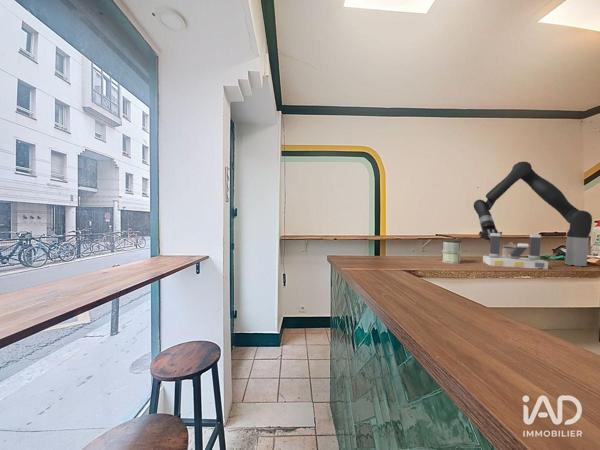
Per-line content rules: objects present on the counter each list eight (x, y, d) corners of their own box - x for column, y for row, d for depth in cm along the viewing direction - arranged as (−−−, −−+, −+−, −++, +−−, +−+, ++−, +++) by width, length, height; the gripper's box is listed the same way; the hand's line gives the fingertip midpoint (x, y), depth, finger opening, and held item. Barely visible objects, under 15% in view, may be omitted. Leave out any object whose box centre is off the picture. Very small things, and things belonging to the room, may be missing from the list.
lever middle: (517, 255, 162) (528, 243, 150) (518, 259, 161) (529, 246, 149) (507, 255, 163) (517, 242, 152) (508, 258, 162) (519, 246, 150)
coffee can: (438, 260, 176) (439, 238, 175) (455, 260, 175) (456, 239, 174) (445, 263, 165) (446, 240, 164) (463, 263, 164) (464, 241, 163)
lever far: (498, 257, 164) (499, 233, 164) (499, 257, 162) (501, 233, 161) (488, 256, 166) (490, 233, 165) (490, 257, 164) (491, 233, 163)
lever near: (537, 259, 159) (539, 234, 158) (540, 260, 156) (541, 234, 155) (528, 258, 160) (529, 234, 159) (530, 259, 158) (531, 234, 157)
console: (536, 264, 163) (536, 258, 163) (548, 269, 151) (548, 262, 151) (482, 261, 171) (483, 255, 171) (490, 265, 159) (490, 259, 159)
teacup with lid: (518, 261, 173) (519, 243, 173) (501, 259, 179) (502, 242, 178) (518, 258, 183) (519, 241, 182) (502, 257, 188) (503, 240, 188)
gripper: (477, 219, 176) (482, 240, 165) (500, 220, 172) (508, 241, 161) (474, 227, 181) (479, 247, 170) (497, 227, 177) (504, 248, 166)
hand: (493, 244), depth 166 cm, fingers closed
